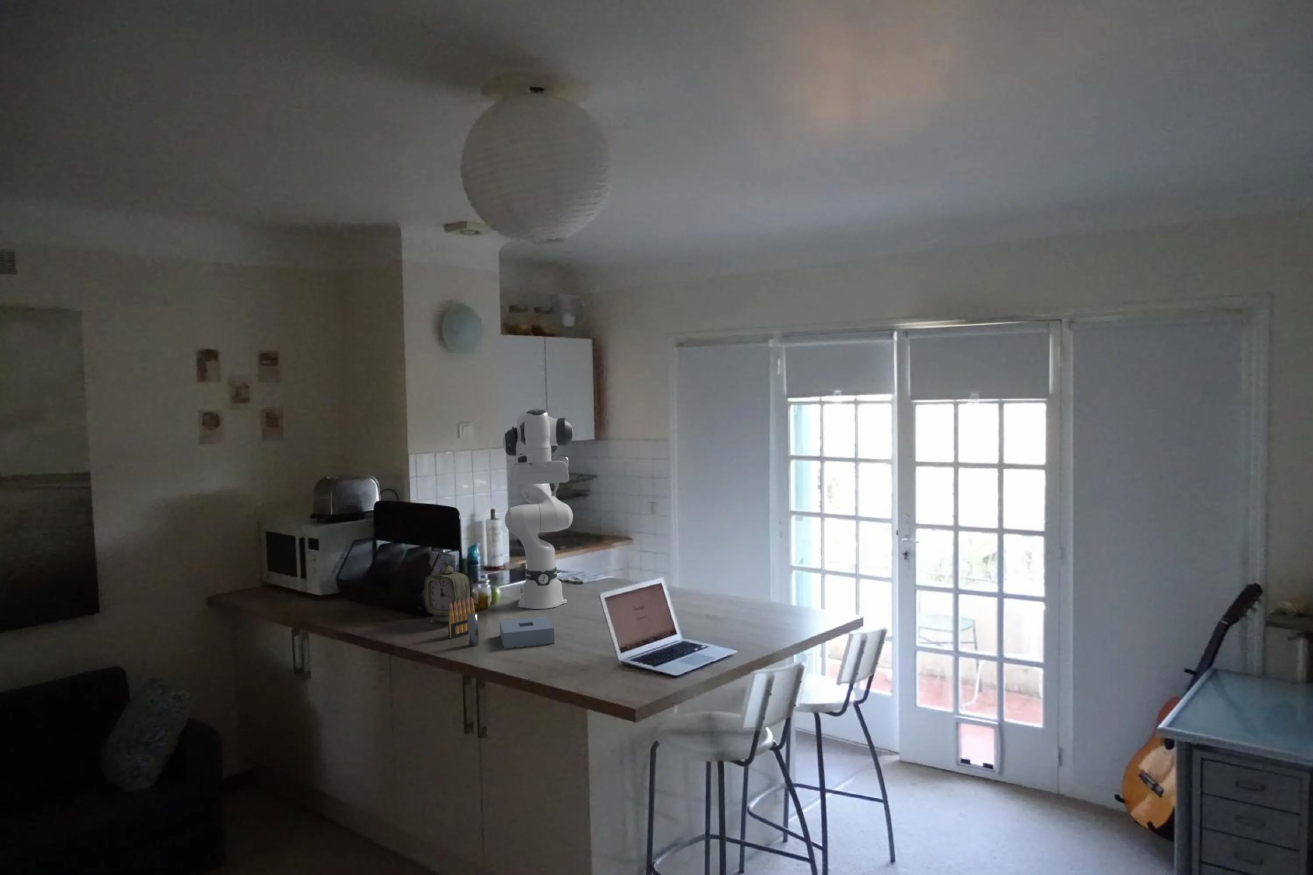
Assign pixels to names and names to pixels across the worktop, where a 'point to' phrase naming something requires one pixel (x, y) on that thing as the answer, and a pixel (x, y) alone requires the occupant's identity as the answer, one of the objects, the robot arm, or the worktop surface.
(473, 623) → the steel pin
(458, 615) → the ammunition clip
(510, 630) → the bore block
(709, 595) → the worktop surface
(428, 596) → the tabletop clock
